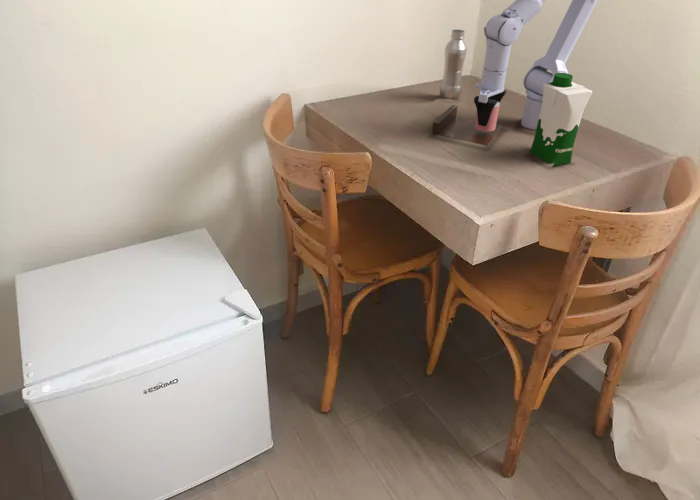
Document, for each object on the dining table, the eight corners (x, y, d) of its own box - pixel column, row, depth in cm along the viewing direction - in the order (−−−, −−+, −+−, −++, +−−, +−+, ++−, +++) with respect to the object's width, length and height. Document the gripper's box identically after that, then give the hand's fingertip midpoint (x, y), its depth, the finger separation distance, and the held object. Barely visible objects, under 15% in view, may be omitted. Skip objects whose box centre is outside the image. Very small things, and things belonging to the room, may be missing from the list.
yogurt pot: (498, 126, 142) (502, 101, 138) (492, 133, 138) (496, 108, 134) (477, 122, 144) (481, 97, 140) (471, 129, 140) (475, 104, 136)
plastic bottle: (463, 98, 167) (473, 30, 155) (454, 104, 162) (464, 35, 151) (444, 94, 170) (452, 27, 158) (435, 100, 165) (443, 31, 153)
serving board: (502, 130, 147) (505, 115, 144) (486, 150, 136) (489, 134, 133) (450, 119, 152) (452, 104, 150) (431, 137, 142) (433, 122, 139)
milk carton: (551, 149, 137) (571, 70, 125) (576, 164, 130) (600, 82, 119) (523, 155, 134) (541, 74, 122) (547, 170, 127) (569, 86, 116)
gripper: (487, 58, 139) (479, 109, 147) (470, 73, 128) (462, 127, 136) (514, 63, 136) (505, 114, 144) (499, 78, 126) (489, 133, 134)
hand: (485, 121), depth 140 cm, fingers closed on yogurt pot, 5 cm apart
